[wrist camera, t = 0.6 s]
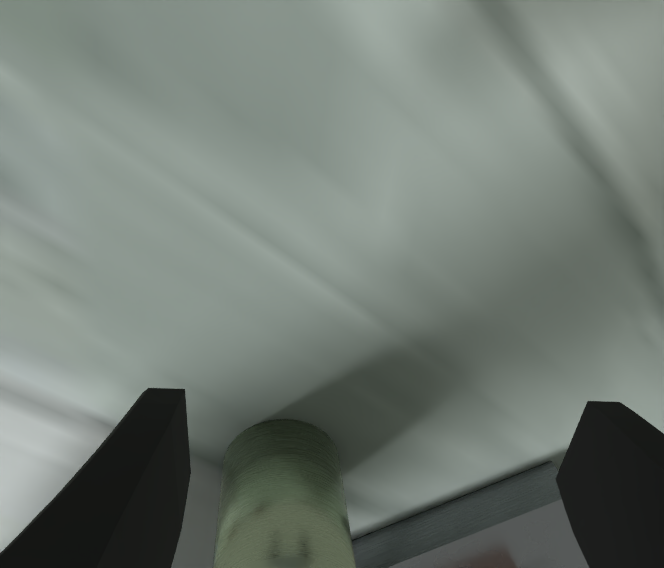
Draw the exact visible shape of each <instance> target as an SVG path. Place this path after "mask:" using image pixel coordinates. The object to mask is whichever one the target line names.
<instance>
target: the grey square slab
mask: <svg viewBox="0 0 664 568" xmlns="http://www.w3.org/2000/svg"><path fill="white" fill-rule="evenodd" d="M557 474H558V470H557V468H556V467H555V465H554V464H553V462H552V461H550V462H548V463H545V464H543V465H540V466H538V467H535V468H533V469H530V470H528V471H525V472H523V473H520V474H518V475H515V476H513V477H510V478H508V479H505V480H503V481H500V482H498V483H495V484H493V485H490V486H488V487H485V488H483V489H480V490H478V491H475V492H473V493H470V494H468V495H466V496H463V497H461V498H458V499H456V500H453V501H451V502H448V503H446V504H443V505H441V506H438V507H436V508H433V509H431V510H428V511H426V512H423V513H421V514H418V515H416V516H413V517H411V518H408V519H406V520H403V521H401V522H398V523H396V524H393V525H391V526H388V527H386V528H383V529H381V530H378V531H376V532H373V533H371V534H368V535H366V536H363V537H361V538H358V539H356V540H353V541H352V546H353V552H354V558H355V564H356V568H589V566H588V564H587V562H586V560H585V558H584V555H583V553H582V551H581V549H580V547H579V545H578V542H577V540H576V538H575V536H574V534H573V531H572V528H571V525H570V522H569V519H568V516H567V514H566V511H565V508H564V504H563V501H562V498H561V495H560V492H559V488H558V485H557V482H556V477H557Z"/></svg>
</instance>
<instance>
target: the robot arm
mask: <svg viewBox="0 0 664 568" xmlns="http://www.w3.org/2000/svg"><path fill="white" fill-rule="evenodd" d="M190 474H191V469H190V455H189V441H188V427H187V413H186V399H185V389H163V388H148V389H147V390H146V391H144V392H143V393H142V394H141V396H140V397H139V398H138V399H137V401H136V402H135V403H134V405H133V406H132V407H131V409H130V410H129V411H128V412H127V414H126V415H125V416H124V417H123V419H122V420H121V421H120V422H119V424H118V425H117V426H116V427H115V429H114V430H113V431H112V432H111V433H110V435H109V436H108V437H107V438H106V440H105V441H104V442H103V443H102V444H101V446H100V447H99V448H98V449H97V450H96V451H95V453H94V454H93V455H92V456H91V457H90V458H89V459H88V461H87V462H86V463H85V464H84V465H83V466H82V467H81V469H80V470H79V471H78V472H77V473H76V474H75V475H74V477H73V478H72V479H71V480H70V481H69V482H68V483H67V484H66V486H65V487H64V488H63V489H62V490H61V491H60V492H59V493H58V494H57V495H56V497H55V498H54V499H53V500H52V501H51V502H50V503H49V504H48V505H47V506H46V507H45V508H44V509H43V510H42V511H41V512H40V513H39V514H38V515H37V516H36V517H35V518H34V519H33V520H32V521H31V523H30V524H29V525H28V526H27V527H26V528H25V529H24V530H23V531H22V532H21V533H20V534H19V535H18V536H17V537H16V538H15V539H14V540H13V541H12V542H11V543H10V544H9V545H8V546H7V547H6V548H5V549H4V550H3V551H2V552H1V553H0V568H171V565H172V562H173V558H174V554H175V551H176V547H177V543H178V540H179V536H180V532H181V528H182V522H183V516H184V510H185V505H186V499H187V492H188V486H189V480H190ZM556 482H557V485H558V488H559V492H560V495H561V498H562V501H563V504H564V508H565V511H566V514H567V516H568V519H569V522H570V525H571V528H572V531H573V534H574V536H575V538H576V540H577V542H578V545H579V547H580V549H581V551H582V553H583V555H584V558H585V560H586V562H587V564H588V566H589V568H664V434H663V433H662V432H661V431H659V430H658V429H657V428H655V427H654V426H653V425H651V424H650V423H649V422H647V421H646V420H645V419H643V418H642V417H640V416H639V415H638V414H636V413H635V412H634V411H632V410H631V409H629V408H628V407H626V406H625V405H623V404H622V403H620V402H599V401H588V402H587V404H586V407H585V409H584V411H583V414H582V416H581V419H580V421H579V423H578V426H577V428H576V431H575V433H574V436H573V438H572V440H571V443H570V445H569V448H568V450H567V452H566V455H565V457H564V460H563V462H562V465H561V467H560V469H559V472H558V474H557V477H556Z"/></svg>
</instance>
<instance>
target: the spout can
mask: <svg viewBox="0 0 664 568" xmlns="http://www.w3.org/2000/svg"><path fill="white" fill-rule="evenodd" d="M213 568H356V564H355V558H354V552H353V546H352V539H351V533H350V527H349V521H348V514H347V508H346V502H345V496H344V489H343V483H342V477H341V471H340V464H339V458H338V453H337V449H336V447H335V445H334V443H333V441H332V440H331V439H330V437H329V436H328V435H327V434H326V433H324V432H323V431H322V430H321V429H319V428H317V427H315V426H313V425H311V424H309V423H305V422H302V421H297V420H289V419H280V420H271V421H266V422H263V423H260V424H257V425H254V426H252V427H250V428H248V429H247V430H245V431H244V432H242V433H241V434H240V435H239V436H237V437H236V438H235V439H234V441H233V442H232V443H231V444H230V446H229V447H228V449H227V451H226V454H225V457H224V464H223V473H222V483H221V493H220V502H219V512H218V522H217V531H216V541H215V551H214V560H213Z"/></svg>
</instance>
